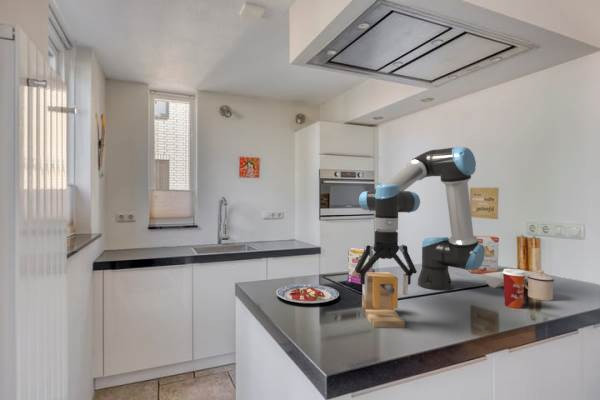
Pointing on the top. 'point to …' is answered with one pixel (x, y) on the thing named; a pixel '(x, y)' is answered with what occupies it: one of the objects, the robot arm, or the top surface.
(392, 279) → the orange u-shaped bracket
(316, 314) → the top surface
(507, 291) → the paper cup
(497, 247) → the cracker box
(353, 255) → the candy bar box
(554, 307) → the top surface
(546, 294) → the teacup with lid
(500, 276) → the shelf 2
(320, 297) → the ceramic plate
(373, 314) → the wooden l-shaped stand
